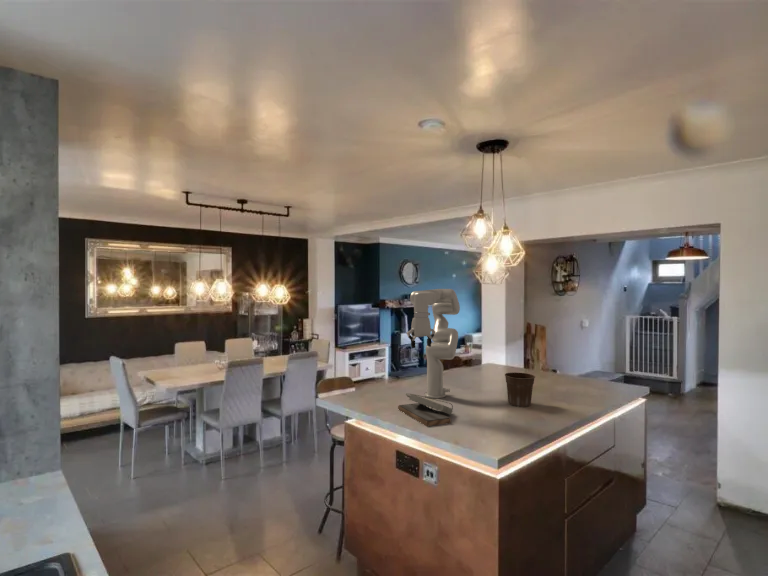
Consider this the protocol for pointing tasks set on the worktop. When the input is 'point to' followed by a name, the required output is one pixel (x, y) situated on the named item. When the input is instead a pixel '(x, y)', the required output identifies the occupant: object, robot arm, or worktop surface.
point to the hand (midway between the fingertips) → (421, 347)
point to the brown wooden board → (424, 414)
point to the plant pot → (519, 388)
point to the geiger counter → (430, 403)
